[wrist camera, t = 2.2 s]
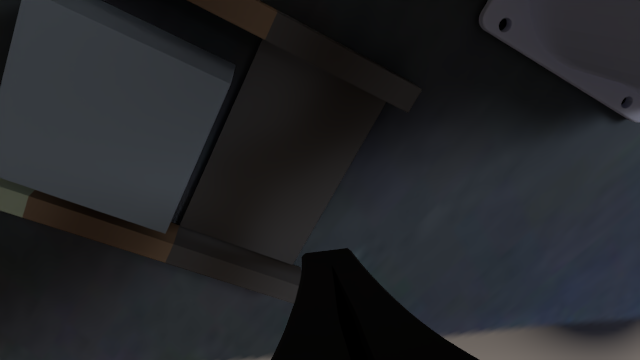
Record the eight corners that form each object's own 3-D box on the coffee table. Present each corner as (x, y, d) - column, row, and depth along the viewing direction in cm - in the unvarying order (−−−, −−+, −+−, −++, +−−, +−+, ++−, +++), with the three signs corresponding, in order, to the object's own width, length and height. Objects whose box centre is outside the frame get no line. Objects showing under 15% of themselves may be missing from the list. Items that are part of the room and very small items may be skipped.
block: (236, 63, 17) (231, 84, 14) (181, 190, 19) (165, 233, 16) (73, -15, 15) (24, -12, 12) (31, 134, 17) (-21, 171, 14)
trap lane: (409, 80, 18) (422, 89, 16) (291, 282, 21) (293, 303, 20) (-245, -271, 11) (-313, -304, 10) (-256, 101, 15) (-307, 113, 14)
